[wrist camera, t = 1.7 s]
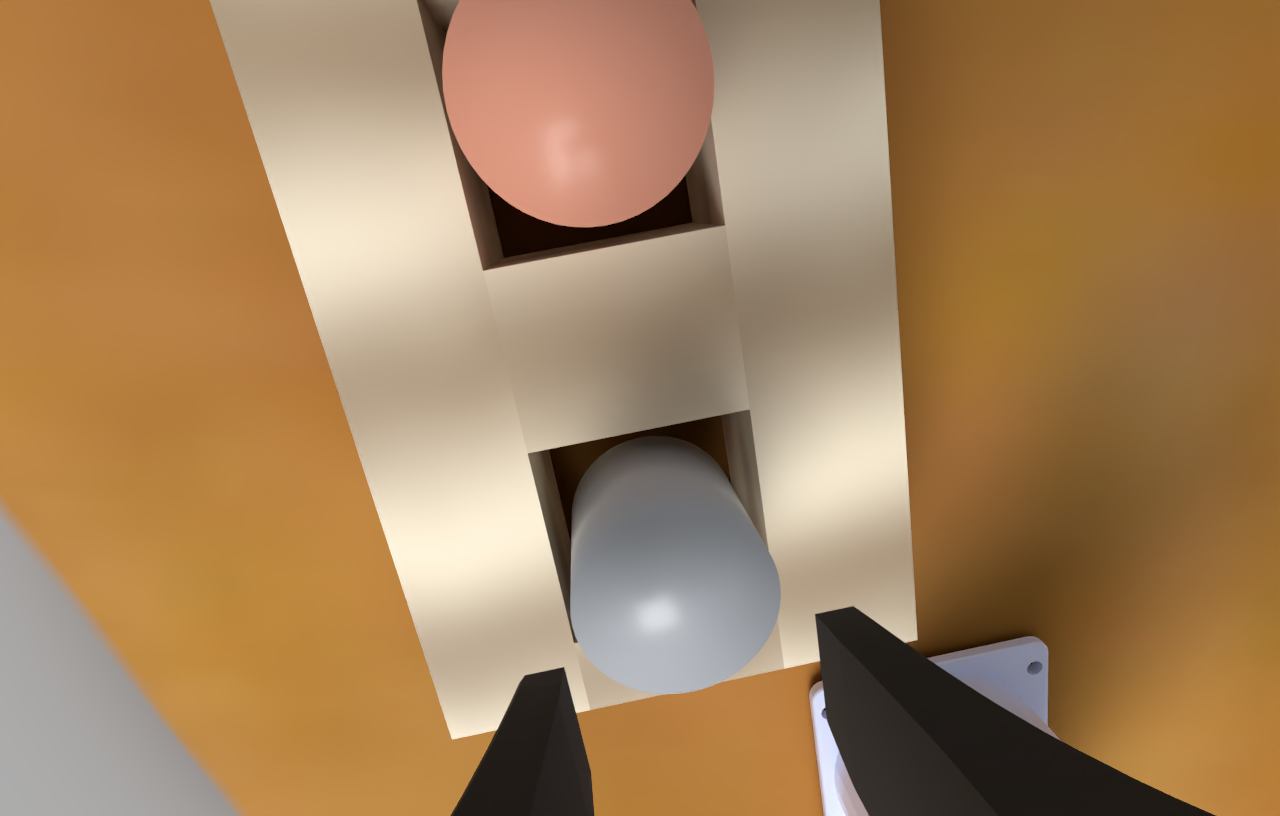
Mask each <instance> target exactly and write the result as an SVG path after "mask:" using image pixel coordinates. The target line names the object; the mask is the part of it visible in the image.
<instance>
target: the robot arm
mask: <svg viewBox="0 0 1280 816" xmlns="http://www.w3.org/2000/svg"><path fill="white" fill-rule="evenodd" d="M815 620H816V629H817V637H818V646H819V655H820V664H821V673H822V681H820V682H817V683H816V684H815V685H814V686H812V688H811V690H810V694H809V697H810V706H811V714H812V722H813V730H814V739H815V747H816V755H817V763H818V772H819V780H820V788H821V796H822V805H823V813H824V816H1215V815H1213V814H1211V813H1208V812H1206V811H1204V810H1201V809H1199V808H1197V807H1195V806H1192V805H1190V804H1188V803H1186V802H1183V801H1181V800H1179V799H1176V798H1174V797H1172V796H1170V795H1168V794H1166V793H1163V792H1161V791H1159V790H1157V789H1155V788H1153V787H1151V786H1149V785H1146V784H1144V783H1142V782H1140V781H1138V780H1136V779H1134V778H1132V777H1130V776H1128V775H1126V774H1124V773H1122V772H1120V771H1118V770H1116V769H1114V768H1112V767H1110V766H1108V765H1106V764H1104V763H1102V762H1100V761H1098V760H1096V759H1095V758H1093V757H1091V756H1089V755H1087V754H1085V753H1083V752H1081V751H1079V750H1077V749H1075V748H1073V747H1071V746H1069V745H1068V744H1066V743H1064V742H1062V741H1061V740H1060V739H1059V738H1058V737H1057V736H1056V734H1055V733H1054V732H1053V731H1052V730H1051V729H1050V728H1049V727H1048V647H1047V646H1046V645H1045V644H1044V643H1043V642H1042V641H1041V640H1040V639H1039V638H1037V637H1035V636H1027V637H1022V638H1018V639H1013V640H1008V641H1004V642H999V643H994V644H990V645H985V646H980V647H976V648H971V649H967V650H962V651H957V652H953V653H948V654H943V655H939V656H934V657H929V658H926V657H925V656H923V655H922V654H920V653H919V652H918V651H916V650H915V649H913V648H912V647H910V646H909V645H908V644H906V643H905V642H903V641H902V640H901V639H899V638H898V637H896V636H895V635H894V634H892V633H891V632H889V631H888V630H887V629H885V628H884V627H882V626H881V625H880V624H878V623H877V622H875V621H874V620H873V619H871V618H870V617H868V616H867V615H865V614H864V613H863V612H861V611H860V610H858V609H857V608H855V607H854V606H851V607H846V608H842V609H837V610H832V611H827V612H823V613H818V614H815ZM1032 662H1033V663H1032ZM1031 663H1032V664H1031ZM1030 664H1031V665H1030ZM1029 665H1030V666H1029ZM824 708H826V710H823V709H824ZM451 816H594V806H593V793H592V780H591V771H590V767H589V763H588V759H587V755H586V751H585V747H584V743H583V739H582V735H581V731H580V727H579V723H578V719H577V715H576V711H575V708H574V704H573V700H572V696H571V692H570V688H569V684H568V680H567V676H566V672H565V668H564V667H562V668H557V669H552V670H548V671H543V672H538V673H534V674H529V675H525V676H524V677H523V679H522V680H521V681H520V683H519V685H518V687H517V689H516V691H515V693H514V695H513V698H512V700H511V702H510V704H509V706H508V708H507V710H506V713H505V715H504V717H503V719H502V721H501V723H500V725H499V727H498V729H497V731H496V733H495V735H494V737H493V739H492V741H491V743H490V745H489V747H488V749H487V751H486V753H485V754H484V756H483V758H482V760H481V762H480V764H479V766H478V767H477V769H476V771H475V773H474V775H473V777H472V779H471V780H470V782H469V784H468V786H467V788H466V790H465V791H464V793H463V795H462V797H461V799H460V800H459V802H458V804H457V806H456V807H455V809H454V811H453V812H452V814H451Z"/></svg>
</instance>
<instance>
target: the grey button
mask: <svg viewBox="0 0 1280 816" xmlns="http://www.w3.org/2000/svg"><path fill="white" fill-rule="evenodd" d="M780 601H781V587H780V580H779V575H778V571H777V568H776V565H775V563H774V560H773V558H772V557H771V555H770V553H769V551H768V549H767V548H766V546H765V544H764V542H763V541H762V539H761V537H760V535H759V533H758V532H757V530H756V528H755V526H754V525H753V523H752V521H751V519H750V518H749V516H748V514H747V512H746V510H745V509H744V507H743V505H742V503H741V502H740V500H739V498H738V496H737V495H736V493H735V491H734V489H733V487H732V486H731V484H730V482H729V480H728V479H727V477H726V475H725V473H724V472H723V470H722V468H721V467H720V466H719V464H718V463H717V462H716V461H715V460H714V459H713V458H712V457H711V456H710V455H709V454H708V453H706V452H705V451H704V450H702V449H701V448H699V447H697V446H696V445H694V444H692V443H689V442H687V441H684V440H682V439H678V438H673V437H667V436H646V437H639V438H635V439H632V440H628V441H626V442H623V443H621V444H618V445H616V446H615V447H613V448H611V449H609V450H608V451H606V452H605V453H604V454H602V455H601V456H600V457H599V458H597V459H596V460H595V461H594V462H593V463H592V464H591V466H590V467H589V468H588V469H587V471H586V472H585V473H584V475H583V477H582V478H581V480H580V482H579V484H578V487H577V489H576V492H575V495H574V499H573V506H572V537H571V593H570V615H571V621H572V627H573V630H574V633H575V636H576V639H577V641H578V643H579V645H580V647H581V649H582V651H583V652H584V653H585V655H586V656H587V658H588V659H589V660H590V661H591V662H592V663H593V664H594V665H595V666H596V668H598V669H599V670H600V671H601V672H603V673H604V674H605V675H606V676H608V677H610V678H611V679H613V680H614V681H616V682H618V683H620V684H623V685H625V686H627V687H630V688H633V689H636V690H639V691H644V692H650V693H658V694H678V693H686V692H692V691H696V690H700V689H704V688H707V687H709V686H712V685H714V684H717V683H719V682H721V681H723V680H725V679H727V678H729V677H730V676H732V675H733V674H735V673H736V672H738V671H739V670H741V669H742V668H743V667H744V666H746V665H747V664H748V663H749V662H750V661H751V660H752V659H753V658H754V657H755V656H756V655H757V654H758V653H759V651H760V650H761V649H762V647H763V646H764V645H765V643H766V642H767V640H768V638H769V636H770V635H771V633H772V631H773V628H774V626H775V623H776V621H777V617H778V613H779V609H780Z"/></svg>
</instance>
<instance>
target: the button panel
mask: <svg viewBox="0 0 1280 816" xmlns="http://www.w3.org/2000/svg"><path fill="white" fill-rule="evenodd" d="M459 1H460V0H210V2H211V5H212V8H213V12H214V15H215V18H216V21H217V24H218V27H219V30H220V33H221V36H222V39H223V42H224V45H225V48H226V51H227V54H228V57H229V60H230V63H231V66H232V69H233V73H234V76H235V79H236V82H237V85H238V88H239V91H240V94H241V97H242V100H243V103H244V106H245V109H246V112H247V115H248V118H249V121H250V124H251V127H252V131H253V134H254V137H255V140H256V143H257V146H258V149H259V152H260V155H261V158H262V161H263V164H264V167H265V170H266V173H267V176H268V179H269V182H270V185H271V188H272V192H273V195H274V198H275V201H276V204H277V207H278V210H279V213H280V216H281V219H282V222H283V225H284V228H285V231H286V234H287V237H288V240H289V243H290V246H291V249H292V253H293V256H294V259H295V262H296V265H297V268H298V271H299V274H300V277H301V280H302V283H303V286H304V289H305V292H306V295H307V298H308V301H309V304H310V307H311V311H312V314H313V317H314V320H315V323H316V326H317V329H318V332H319V335H320V338H321V341H322V344H323V347H324V350H325V353H326V356H327V359H328V362H329V365H330V368H331V372H332V375H333V378H334V381H335V384H336V387H337V390H338V393H339V396H340V399H341V402H342V405H343V408H344V411H345V414H346V417H347V420H348V423H349V426H350V429H351V433H352V436H353V439H354V442H355V445H356V448H357V451H358V454H359V457H360V460H361V463H362V466H363V469H364V472H365V475H366V478H367V481H368V484H369V487H370V490H371V494H372V497H373V500H374V503H375V506H376V509H377V512H378V515H379V518H380V521H381V524H382V527H383V530H384V533H385V536H386V539H387V542H388V545H389V548H390V552H391V555H392V558H393V561H394V564H395V567H396V570H397V573H398V576H399V579H400V582H401V585H402V588H403V591H404V594H405V597H406V600H407V603H408V606H409V609H410V613H411V616H412V619H413V622H414V625H415V628H416V631H417V634H418V637H419V640H420V643H421V646H422V649H423V652H424V655H425V658H426V661H427V664H428V667H429V670H430V674H431V677H432V680H433V683H434V686H435V689H436V692H437V695H438V698H439V701H440V704H441V707H442V710H443V713H444V716H445V719H446V722H447V725H448V728H449V731H450V735H451V738H452V739H457V738H461V737H466V736H471V735H475V734H480V733H485V732H489V731H494V730H497V729H498V727H499V725H500V723H501V721H502V719H503V717H504V715H505V713H506V710H507V708H508V706H509V704H510V702H511V700H512V698H513V695H514V693H515V691H516V689H517V687H518V685H519V683H520V681H521V680H522V679H523V677H524V676H525V675H529V674H534V673H538V672H543V671H548V670H552V669H557V668H562V667H564V668H565V672H566V676H567V680H568V684H569V688H570V692H571V696H572V700H573V704H574V708H575V711H576V713H578V712H583V711H588V710H592V709H597V708H602V707H606V706H611V705H616V704H621V703H625V702H630V701H635V700H639V699H644V698H649V697H653V696H658V695H663V694H658V693H650V692H644V691H639V690H636V689H633V688H630V687H627V686H625V685H623V684H620V683H618V682H616V681H614V680H613V679H611V678H610V677H608V676H606V675H605V674H604V673H603V672H601V671H600V670H599V669H598V668H596V666H595V665H594V664H593V663H592V662H591V661H590V660H589V659H588V658H587V656H586V655H585V653H584V652H583V651H582V649H581V647H580V645H579V643H578V641H577V639H576V636H575V633H574V630H573V627H572V621H571V615H570V593H571V542H570V538H569V533H568V529H567V525H566V521H565V516H564V512H563V508H562V503H561V499H560V495H559V491H558V486H557V482H556V478H555V474H554V469H553V465H552V461H551V456H550V452H549V449H553V448H558V447H563V446H568V445H573V444H578V443H583V442H588V441H593V440H598V439H603V438H608V437H613V436H618V435H623V434H628V433H633V432H638V431H643V430H648V429H653V428H658V427H663V426H668V425H673V424H678V423H683V422H689V421H694V420H699V419H704V418H709V417H714V416H719V415H721V419H722V426H723V433H724V440H725V447H726V453H727V460H728V467H729V474H730V480H731V486H732V487H733V489H734V491H735V493H736V495H737V496H738V498H739V500H740V502H741V503H742V505H743V507H744V509H745V510H746V512H747V514H748V516H749V518H750V519H751V521H752V523H753V525H754V526H755V528H756V530H757V532H758V533H759V535H760V537H761V539H762V541H763V542H764V544H765V546H766V548H767V549H768V551H769V553H770V555H771V557H772V558H773V560H774V563H775V565H776V568H777V571H778V575H779V580H780V587H781V601H780V609H779V613H778V617H777V621H776V623H775V626H774V628H773V631H772V633H771V635H770V636H769V638H768V640H767V642H766V643H765V645H764V646H763V647H762V649H761V650H760V651H759V653H758V654H757V655H756V656H755V657H754V658H753V659H752V660H751V661H750V662H749V663H748V664H747V665H746V666H744V667H743V668H742V669H741V670H739V671H738V672H736V673H735V674H733V675H732V676H730V677H729V678H727V679H725V680H723V681H728V680H733V679H738V678H742V677H747V676H752V675H756V674H761V673H766V672H770V671H775V670H780V669H784V668H789V667H794V666H798V665H803V664H808V663H812V662H817V661H820V655H819V646H818V637H817V629H816V620H815V614H818V613H823V612H827V611H832V610H837V609H842V608H846V607H851V606H854V607H855V608H857V609H858V610H860V611H861V612H863V613H864V614H865V615H867V616H868V617H870V618H871V619H873V620H874V621H875V622H877V623H878V624H880V625H881V626H882V627H884V628H885V629H887V630H888V631H889V632H891V633H892V634H894V635H895V636H896V637H898V638H899V639H901V640H902V641H903V642H905V643H906V642H911V641H915V640H918V639H917V622H916V605H915V588H914V571H913V555H912V538H911V521H910V504H909V487H908V470H907V453H906V436H905V419H904V403H903V386H902V369H901V352H900V335H899V318H898V301H897V284H896V267H895V251H894V234H893V217H892V200H891V183H890V166H889V149H888V132H887V116H886V99H885V82H884V65H883V48H882V31H881V14H880V0H691V1H692V3H693V5H694V6H695V8H696V10H697V12H698V15H699V17H700V19H701V21H702V23H703V26H704V29H705V32H706V35H707V38H708V41H709V45H710V50H711V55H712V61H713V70H714V102H713V108H712V114H711V120H710V123H709V127H708V130H707V134H706V137H705V140H704V142H703V144H702V147H701V149H700V151H699V154H698V156H697V157H696V159H695V161H694V162H693V164H692V166H691V168H690V169H689V171H688V172H687V173H686V182H687V189H688V196H689V202H690V209H691V216H692V223H687V224H682V225H677V226H671V227H666V228H661V229H655V230H650V231H645V232H639V233H634V234H629V235H623V236H618V237H613V238H607V239H602V240H597V241H591V242H586V243H581V244H575V245H570V246H565V247H559V248H554V249H549V250H543V251H538V252H533V253H527V254H522V255H517V256H511V257H506V258H504V256H503V251H502V247H501V243H500V238H499V234H498V230H497V226H496V221H495V217H494V213H493V209H492V204H491V200H490V196H489V191H488V187H487V184H486V183H485V182H484V181H483V180H482V179H481V177H480V176H479V175H478V174H477V172H476V171H475V170H474V168H473V167H472V166H471V164H470V163H469V161H468V160H467V158H466V156H465V155H464V153H463V151H462V149H461V148H460V146H459V143H458V141H457V139H456V137H455V134H454V132H453V130H452V127H451V123H450V120H449V117H448V113H447V110H446V104H445V99H444V93H443V79H442V65H443V51H444V46H445V41H446V35H447V31H448V28H449V25H450V22H451V19H452V16H453V13H454V11H455V9H456V7H457V5H458V3H459ZM723 681H721V682H723Z"/></svg>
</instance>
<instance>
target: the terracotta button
mask: <svg viewBox="0 0 1280 816" xmlns="http://www.w3.org/2000/svg"><path fill="white" fill-rule="evenodd" d="M442 79H443V93H444V99H445V104H446V110H447V113H448V117H449V120H450V123H451V127H452V130H453V132H454V134H455V137H456V139H457V141H458V143H459V146H460V148H461V149H462V151H463V153H464V155H465V156H466V158H467V160H468V161H469V163H470V164H471V166H472V167H473V168H474V170H475V171H476V172H477V174H478V175H479V176H480V177H481V179H482V180H483V181H484V182H485V183H486V184H487V185H488V186H489V187H490V188H491V189H492V190H493V191H494V192H495V193H496V194H498V195H499V196H500V197H501V198H503V199H504V200H505V201H506V202H508V203H509V204H511V205H512V206H514V207H516V208H517V209H519V210H521V211H522V212H524V213H526V214H528V215H531V216H533V217H535V218H537V219H540V220H543V221H546V222H550V223H553V224H557V225H563V226H570V227H597V226H606V225H610V224H614V223H618V222H622V221H624V220H627V219H629V218H632V217H634V216H637V215H639V214H641V213H642V212H644V211H646V210H648V209H649V208H651V207H653V206H654V205H655V204H657V203H658V202H659V201H661V200H662V199H663V198H664V197H666V196H667V195H668V194H669V193H670V192H671V191H672V190H673V189H674V188H675V187H676V186H677V185H678V184H679V182H680V181H681V180H682V179H683V177H684V176H685V175H686V173H687V172H688V171H689V169H690V168H691V166H692V164H693V162H694V161H695V159H696V157H697V156H698V154H699V151H700V149H701V147H702V144H703V142H704V140H705V137H706V134H707V130H708V127H709V123H710V120H711V114H712V108H713V102H714V70H713V61H712V55H711V50H710V45H709V41H708V38H707V35H706V32H705V29H704V26H703V23H702V21H701V19H700V17H699V15H698V12H697V10H696V8H695V6H694V5H693V3H692V1H691V0H460V1H459V3H458V5H457V7H456V9H455V11H454V13H453V16H452V19H451V22H450V25H449V28H448V31H447V35H446V41H445V46H444V51H443V65H442Z"/></svg>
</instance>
